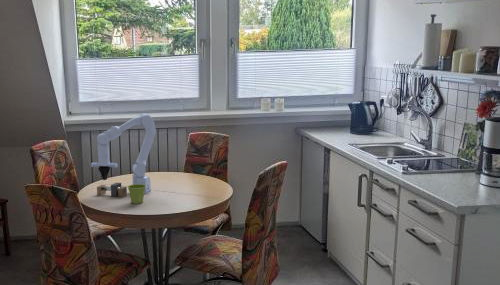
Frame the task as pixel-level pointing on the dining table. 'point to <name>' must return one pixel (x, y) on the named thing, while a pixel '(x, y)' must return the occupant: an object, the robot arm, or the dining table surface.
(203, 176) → the dining table surface
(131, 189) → the plant pot
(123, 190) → the brown dumbbell
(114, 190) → the gray square nut
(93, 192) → the dining table surface
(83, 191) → the dining table surface
